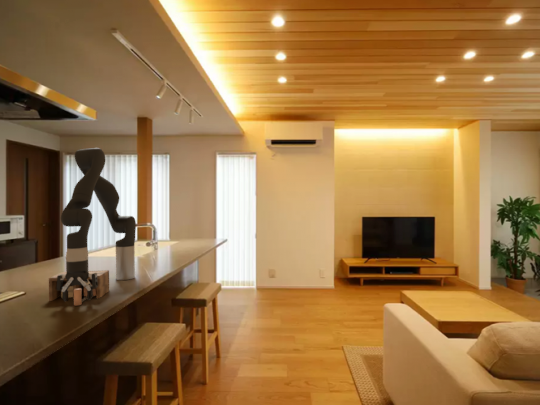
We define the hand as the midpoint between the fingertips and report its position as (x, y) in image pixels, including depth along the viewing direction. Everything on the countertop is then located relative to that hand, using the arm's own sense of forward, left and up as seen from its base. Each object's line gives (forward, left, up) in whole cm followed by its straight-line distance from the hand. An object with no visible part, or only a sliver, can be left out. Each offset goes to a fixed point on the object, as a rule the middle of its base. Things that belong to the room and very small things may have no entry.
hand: (77, 300), depth 129 cm
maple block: (-15, -9, -2) cm, 18 cm away
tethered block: (-8, 0, -2) cm, 8 cm away
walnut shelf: (-14, -5, -2) cm, 15 cm away
